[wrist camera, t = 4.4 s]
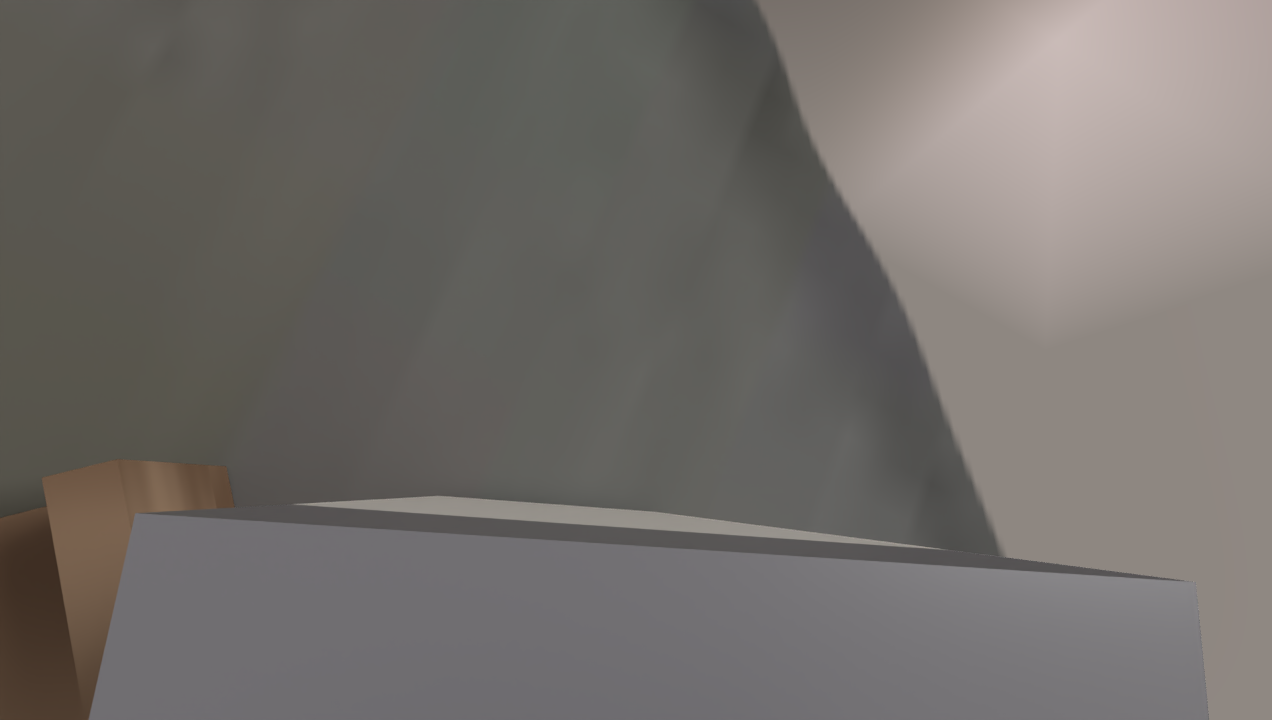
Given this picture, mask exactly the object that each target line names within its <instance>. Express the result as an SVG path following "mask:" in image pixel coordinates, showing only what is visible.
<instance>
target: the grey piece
mask: <svg viewBox="0 0 1272 720" xmlns="http://www.w3.org/2000/svg"><path fill="white" fill-rule="evenodd" d="M89 720H1209V714H1208V704H1207V694H1206V683H1205V673H1204V662H1203V652H1202V643H1201V631H1200V622H1199V611H1198V600H1197V590H1196V582H1191V581H1184V580H1175V579H1168V578H1160V577H1152V576H1145V575H1137V574H1129V573H1122V572H1114V571H1106V570H1099V569H1091V568H1083V567H1076V566H1068V565H1060V564H1053V563H1045V562H1037V561H1029V560H1022V559H1014V558H1006V557H999V556H991V555H983V554H975V553H968V552H960V551H952V550H945V549H937V548H929V547H922V546H914V545H906V544H898V543H891V542H883V541H875V540H868V539H860V538H852V537H845V536H837V535H829V534H821V533H814V532H806V531H798V530H791V529H783V528H775V527H767V526H760V525H752V524H744V523H737V522H729V521H721V520H714V519H706V518H698V517H690V516H683V515H675V514H667V513H660V512H650V511H637V510H623V509H610V508H596V507H583V506H569V505H556V504H542V503H529V502H515V501H502V500H488V499H475V498H462V497H448V496H430V497H412V498H395V499H377V500H359V501H342V502H324V503H306V504H289V505H271V506H253V507H236V508H218V509H200V510H183V511H165V512H147V513H135V517H134V521H133V525H132V530H131V534H130V539H129V543H128V548H127V552H126V556H125V561H124V565H123V570H122V574H121V579H120V583H119V587H118V592H117V596H116V601H115V605H114V609H113V614H112V618H111V623H110V627H109V632H108V636H107V640H106V645H105V649H104V654H103V658H102V663H101V667H100V671H99V676H98V680H97V685H96V689H95V693H94V698H93V702H92V707H91V711H90V716H89Z"/></svg>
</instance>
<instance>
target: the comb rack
mask: <svg viewBox="0 0 1272 720" xmlns="http://www.w3.org/2000/svg"><path fill="white" fill-rule="evenodd" d="M42 481H43V487H44V493H45V498H46V504H47V506H46V507H42V508H38V509H34V510H30V511H26V512H22V513H18V514H14V515H10V516H6V517H2V518H0V720H89V716H90V711H91V707H92V702H93V698H94V693H95V689H96V685H97V680H98V676H99V671H100V667H101V663H102V658H103V654H104V649H105V645H106V640H107V636H108V632H109V627H110V623H111V618H112V614H113V609H114V605H115V601H116V596H117V592H118V587H119V583H120V579H121V574H122V570H123V565H124V561H125V556H126V552H127V548H128V543H129V539H130V534H131V530H132V525H133V521H134V517H135V513H147V512H165V511H183V510H200V509H218V508H235V506H234V502H233V497H232V492H231V487H230V483H229V478H228V473H227V468H226V466H211V465H196V464H181V463H166V462H151V461H136V460H121V459H116V460H112V461H108V462H104V463H100V464H96V465H92V466H88V467H84V468H80V469H75V470H71V471H67V472H63V473H59V474H55V475H51V476H47V477H43V478H42Z"/></svg>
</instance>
